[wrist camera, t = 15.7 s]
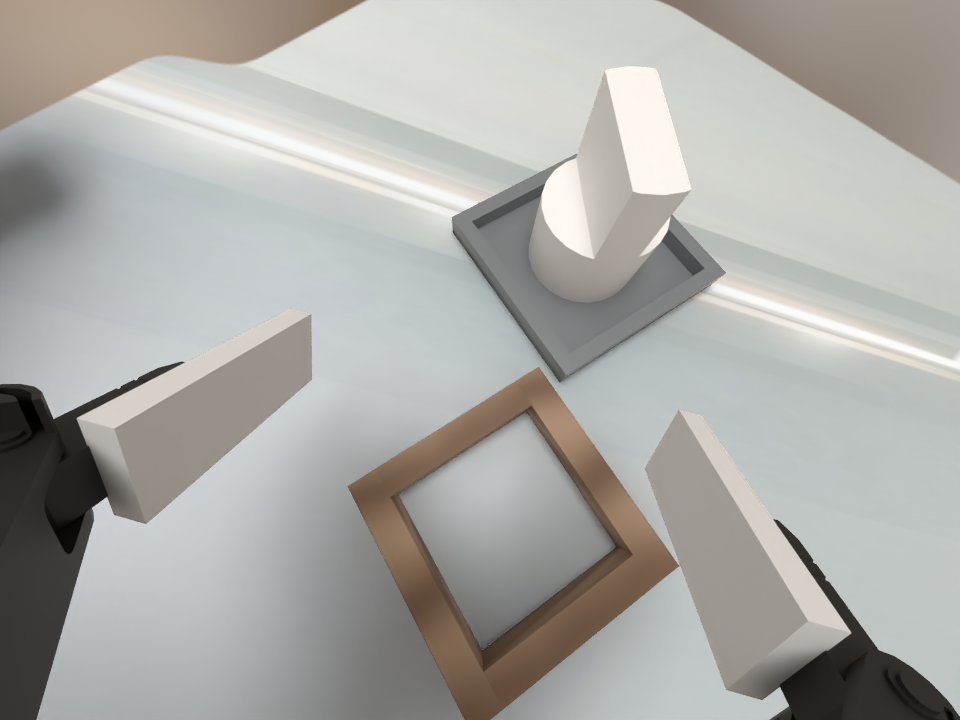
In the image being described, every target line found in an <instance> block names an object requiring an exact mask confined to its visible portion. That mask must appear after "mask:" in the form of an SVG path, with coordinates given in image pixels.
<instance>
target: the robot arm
mask: <svg viewBox="0 0 960 720" xmlns="http://www.w3.org/2000/svg"><path fill="white" fill-rule="evenodd" d="M311 380H312V346H311V314H310V313H306V312H302V311H298V310H294V309H289V310H287V311H285V312H283V313H281V314H279V315H277V316H275V317H273V318H271V319H269V320H267V321H265V322H263V323H261V324H259V325H257V326H255V327H254V328H252V329H250V330H248V331H246V332H244V333H242V334H240V335H238V336H236V337H234V338H232V339H230V340H228V341H226V342H224V343H222V344H220V345H218V346H216V347H214V348H213V349H211V350H209V351H207V352H205V353H203V354H201V355H199V356H197V357H195V358H193V359H191V360H189V361H187V362H179V363H175V364H171V365H168V366H164V367H160V368H157V369H155V370H153V371H151V372H149V373H147V374H145V375H143V376H141V377H139V378H138V379H137V380H133V381H131V382H129V383H127V384H125V385H123V386H121V388H120V389H114V390H112V391H110V392H108V393H106V394H104V395H102V396H100V397H98V398H96V399H94V400H92V401H90V402H88V403H86V404H84V405H82V406H80V407H78V408H76V409H74V410H72V411H69V412H67V413H65V414H63V415H61V416H59V417H57V418H55V419H53V417H52V415H51V412H50V410H49V408H48V405H47V403H46V401H45V398H44V396H43V394H42V392H41V391H40V390H38V389H37V388H36V387H33V386H28V385H22V384H0V720H36V719H37V716H38V712H39V709H40V705H41V702H42V698H43V695H44V691H45V688H46V684H47V681H48V677H49V674H50V671H51V667H52V664H53V660H54V657H55V653H56V650H57V646H58V643H59V639H60V636H61V632H62V629H63V625H64V622H65V619H66V615H67V612H68V608H69V605H70V601H71V598H72V594H73V591H74V587H75V584H76V580H77V577H78V573H79V570H80V567H81V563H82V560H83V556H84V553H85V549H86V546H87V542H88V539H89V535H90V532H91V528H92V525H93V521H94V515H93V510H92V507H94V506H95V505H96V504H98V503H99V502H100V501H102V500H103V499H104V498H106V497H107V498H108V500H109V503H110V505H111V508H112V511H113V513H114V515H116V516H120V517H123V518H127V519H130V520H134V521H137V522H141V523H144V524H147V523H148V522H149V521H150V520H151V519H152V518H154V517H155V516H156V515H157V514H158V513H159V512H160V511H162V510H163V509H164V508H165V507H166V506H167V505H168V504H170V503H171V502H172V501H173V500H174V499H175V498H176V497H178V496H179V495H180V494H181V493H182V492H183V491H184V490H186V489H187V488H188V487H189V486H190V485H191V484H193V483H194V482H195V481H196V480H197V479H198V478H199V477H201V476H202V475H203V474H204V473H205V472H206V471H207V470H209V469H210V468H211V467H212V466H213V465H214V464H215V463H217V462H218V461H219V460H220V459H221V458H222V457H223V456H225V455H226V454H227V453H228V452H229V451H230V450H232V449H233V448H234V447H235V446H236V445H237V444H238V443H240V442H241V441H242V440H243V439H244V438H245V437H246V436H248V435H249V434H250V433H251V432H252V431H253V430H254V429H256V428H257V427H258V426H259V425H260V424H261V423H262V422H264V421H265V420H266V419H267V418H268V417H269V416H270V415H272V414H273V413H274V412H275V411H276V410H277V409H279V408H280V407H281V406H282V405H283V404H284V403H285V402H287V401H288V400H289V399H290V398H291V397H292V396H293V395H295V394H296V393H297V392H298V391H299V390H300V389H301V388H303V387H304V386H305V385H306V384H307V383H308V382H309V381H311ZM645 470H646V473H647V476H648V478H649V481H650V484H651V487H652V489H653V492H654V495H655V498H656V500H657V503H658V506H659V508H660V511H661V514H662V517H663V519H664V522H665V525H666V527H667V530H668V533H669V536H670V538H671V541H672V544H673V546H674V549H675V552H676V555H677V557H678V560H679V563H680V565H681V568H682V571H683V574H684V576H685V579H686V582H687V584H688V587H689V590H690V593H691V595H692V598H693V601H694V603H695V606H696V609H697V612H698V614H699V617H700V620H701V622H702V625H703V628H704V631H705V633H706V636H707V639H708V641H709V644H710V647H711V650H712V652H713V655H714V658H715V660H716V663H717V666H718V669H719V671H720V674H721V677H722V679H723V682H724V685H725V688H726V690H729V691H732V692H736V693H739V694H743V695H746V696H750V697H753V698H757V699H760V700H763V699H764V698H766V697H767V696H768V695H770V694H771V693H772V692H774V691H775V690H776V689H778V688H779V687H781V690H782V692H783V694H784V696H785V698H786V700H787V702H788V704H789V707H787V708H786V709H785V710H783V711H782V712H780V713H779V714H777V715H776V716H774V717H773V718H772V719H770V720H960V717H959V715H958V714H957V712H956V711H955V710H954V708H953V707H952V705H951V704H950V703H949V701H948V700H947V699H946V698H945V697H944V696H943V695H942V694H941V693H940V692H939V691H938V690H937V689H936V688H935V687H934V686H933V685H932V684H931V683H930V682H929V681H928V680H927V679H925V678H924V677H923V676H922V675H921V674H919V673H918V672H917V671H916V670H915V669H913V668H912V667H911V666H909V665H907V664H906V663H904V662H903V661H901V660H899V659H898V658H896V657H895V656H892V655H890V654H887V653H884V652H882V651H879V650H878V649H877V647H876V646H875V645H874V643H873V642H872V640H871V639H870V638H869V636H868V635H867V633H866V632H865V631H864V629H863V628H862V627H861V625H860V624H859V622H858V621H857V620H856V618H855V617H854V616H853V614H852V613H851V611H850V610H849V609H848V607H847V606H846V604H845V603H844V602H843V600H842V599H841V598H840V596H839V595H838V593H837V592H836V591H835V589H834V588H833V587H832V585H831V584H830V582H828V581H826V580H825V578H826V577H825V575H824V574H823V573H822V571H821V570H820V569H819V567H818V566H817V564H814V563H813V559H812V558H811V556H810V555H809V553H808V552H807V551H806V549H805V548H804V546H803V545H802V544H801V542H800V541H799V540H798V539H797V538H796V537H795V536H794V535H793V534H792V533H791V532H790V531H789V530H788V529H787V528H786V527H785V526H784V525H783V524H782V523H781V522H779V521H778V520H775V519H772V517H771V516H770V514H769V513H768V511H767V510H766V509H765V507H764V506H763V504H762V503H761V501H760V500H759V498H758V497H757V496H756V494H755V493H754V491H753V490H752V488H751V487H750V485H749V484H748V483H747V481H746V480H745V478H744V477H743V475H742V474H741V472H740V471H739V470H738V468H737V467H736V465H735V464H734V462H733V461H732V459H731V458H730V457H729V455H728V454H727V452H726V451H725V449H724V448H723V446H722V445H721V444H720V442H719V441H718V439H717V438H716V436H715V435H714V433H713V432H712V431H711V429H710V428H709V426H708V425H707V423H706V422H705V420H704V419H703V417H702V416H701V415H697V414H693V413H689V412H686V411H682V410H678V412H677V414H676V416H675V417H674V419H673V421H672V422H671V424H670V426H669V428H668V429H667V431H666V433H665V435H664V436H663V438H662V440H661V441H660V443H659V445H658V447H657V448H656V450H655V452H654V453H653V455H652V457H651V459H650V460H649V462H648V464H647V466H646V467H645Z"/></svg>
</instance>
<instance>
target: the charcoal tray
mask: <svg viewBox="0 0 960 720" xmlns="http://www.w3.org/2000/svg"><path fill="white" fill-rule="evenodd" d="M576 156H577V154H575V155H573V156H571V157H569V158H567V159H565V160H563V161H562V162H560V163H558V164H556V165H554V166H552V167H550V168H548V169H546V170H544V171H542V172H540V173H538V174H536V175H534V176H532V177H530V178H528V179H526V180H524V181H522V182H520V183H518V184H516V185H514V186H512V187H510V188H508V189H506V190H505V191H503V192H501V193H499V194H497V195H495V196H493V197H491V198H489V199H487V200H485V201H483V202H481V203H479V204H477V205H475V206H473V207H471V208H469V209H467V210H465V211H463V212H461V213H459V214H457V215H455V216H453V217H452V224H453V233H454V234H455V236H456V237H457V239H458V240H459V241H460V243H461V244H462V246H463V247H464V248H465V250H466V251H467V253H468V254H469V255H470V257H471V258H472V260H473V261H474V262H475V264H476V265H477V267H478V268H479V269H480V271H481V272H482V274H483V275H484V276H485V278H486V279H487V281H488V282H489V283H490V285H491V286H492V288H493V289H494V290H495V292H496V293H497V295H498V296H499V297H500V299H501V300H502V302H503V303H504V304H505V306H506V307H507V309H508V310H509V311H510V313H511V314H512V316H513V317H514V318H515V320H516V321H517V323H518V324H519V325H520V327H521V328H522V330H523V331H524V332H525V334H526V335H527V337H528V338H529V339H530V341H531V342H532V344H533V345H534V346H535V348H536V349H537V351H538V352H539V353H540V355H541V356H542V358H543V359H544V360H545V362H546V363H547V365H548V366H549V367H550V369H551V370H552V372H553V373H554V374H555V376H556V377H557V379H558V380H559V381H562V380H563V379H565V378H567V377H568V376H570V375H571V374H573V373H574V372H576V371H577V370H579V369H581V368H582V367H584V366H585V365H587V364H588V363H590V362H591V361H593V360H595V359H596V358H598V357H599V356H601V355H602V354H604V353H606V352H607V351H609V350H610V349H612V348H613V347H615V346H616V345H618V344H620V343H621V342H623V341H624V340H626V339H627V338H629V337H630V336H632V335H634V334H635V333H637V332H638V331H640V330H641V329H643V328H644V327H646V326H648V325H649V324H651V323H652V322H654V321H655V320H657V319H658V318H660V317H662V316H663V315H665V314H666V313H668V312H669V311H671V310H672V309H674V308H676V307H677V306H679V305H680V304H682V303H683V302H685V301H686V300H688V299H690V298H691V297H693V296H694V295H696V294H697V293H699V292H700V291H702V290H704V289H705V288H707V287H708V286H710V285H711V284H712V283H714V282H715V281H716V280H718V279H719V278H720V277H721V276H723V275H724V274H725V273H726V272H725V271H724V270H723V269H722V268H721V267H720V266H719V265H718V264H717V263H716V262H715V260H714V259H713V258H712V257H711V256H710V255H709V254H708V253H707V252H706V251H705V250H704V249H703V248H702V246H701V245H700V244H699V243H698V242H697V241H696V240H695V239H694V238H693V237H692V236H691V235H690V234H689V232H688V231H687V230H686V229H685V228H684V227H683V226H682V225H681V224H680V223H679V222H678V221H677V220H676V218H675V217H674V216H673V215H671V217H670V222H669V227H668V231H667V233H666V234H665V236H664V237H663V239H662V241H661V242H660V244H659V245H658V246H657V247H656V249H655V250H654V251H653V252H652V253H651V255H650V256H649V257H648V258H647V259H646V261H645V262H644V263H643V264H642V266H641V267H640V268H639V269H638V270H637V272H636V273H635V274H634V275H633V276H632V278H631V279H630V280H629V281H628V283H627V284H626V285H625V286H624V287H623V288H622V289H621V290H620V291H618V292H617V293H616V294H615V295H613V296H611V297H609V298H607V299H605V300H602V301H597V302H591V303H584V302H573V301H570V300H567V299H564V298H561V297H559V296H557V295H556V294H554V293H552V292H551V291H549V290H548V289H547V288H546V287H545V286H543V285H542V284H541V283H540V282H539V281H538V279H537V277H536V276H535V274H534V272H533V271H532V269H531V265H530V261H529V258H528V253H529V242H530V238H531V234H532V231H533V227H534V223H535V219H536V215H537V211H538V207H539V203H540V199H541V195H542V192H543V189H544V186H545V183H546V181H547V180H548V178H549V177H550V176H551V174H552V173H553V172H554V170H556V169H557V168H558V167H560V166H561V165H563V164H564V163H565V162H567V161H570V160H572V159H575V158H576Z"/></svg>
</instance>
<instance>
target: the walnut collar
mask: <svg viewBox="0 0 960 720" xmlns="http://www.w3.org/2000/svg"><path fill="white" fill-rule="evenodd" d="M526 411H527V413H528V414H529V416H530V417H531V419H532V420H533V422H534V423H535V425H536V426H537V428H538V429H539V431H540V432H541V434H542V435H543V437H544V438H545V440H546V441H547V442H548V444H549V445H550V447H551V448H552V450H553V451H554V453H555V454H556V456H557V457H558V459H559V460H560V462H561V463H562V465H563V466H564V468H565V469H566V471H567V472H568V474H569V475H570V477H571V478H572V480H573V481H574V483H575V484H576V486H577V487H578V489H579V490H580V492H581V493H582V495H583V496H584V498H585V499H586V501H587V502H588V504H589V505H590V507H591V508H592V509H593V511H594V512H595V514H596V515H597V517H598V518H599V520H600V521H601V523H602V524H603V526H604V527H605V529H606V530H607V532H608V533H609V535H610V536H611V538H612V539H613V541H614V542H615V544H616V545H617V548H616V549H614V550H613V551H612V552H610V553H609V554H608V555H606V556H605V557H604V558H603V559H601V560H600V561H599V562H597V563H596V564H595V565H593V566H592V567H591V568H590V569H588V570H587V571H586V572H584V573H583V574H582V575H580V576H579V577H578V578H577V579H575V580H574V581H573V582H571V583H570V584H569V585H567V586H566V587H565V588H564V589H562V590H561V591H560V592H558V593H557V594H556V595H555V596H553V597H552V598H551V599H549V600H548V601H547V602H545V603H544V604H543V605H542V606H540V607H539V608H538V609H536V610H535V611H534V612H532V613H531V614H530V615H529V616H527V617H526V618H525V619H523V620H522V621H521V622H519V623H518V624H517V625H516V626H514V627H513V628H512V629H510V630H509V631H508V632H506V633H505V634H504V635H503V636H501V637H500V638H499V639H497V640H496V641H495V642H494V643H492V644H491V645H490V646H488V647H487V648H486V649H484V650H483V651H482V650H481V648H480V646H479V645H478V643H477V641H476V639H475V637H474V635H473V633H472V632H471V630H470V628H469V626H468V624H467V622H466V620H465V619H464V617H463V615H462V613H461V611H460V609H459V607H458V605H457V604H456V602H455V600H454V598H453V596H452V594H451V592H450V591H449V589H448V587H447V585H446V583H445V581H444V579H443V577H442V576H441V574H440V572H439V570H438V568H437V566H436V564H435V563H434V561H433V559H432V557H431V555H430V553H429V551H428V549H427V548H426V546H425V544H424V542H423V540H422V538H421V536H420V535H419V533H418V531H417V529H416V527H415V525H414V523H413V522H412V520H411V518H410V516H409V514H408V512H407V510H406V508H405V507H404V505H403V503H402V501H401V499H400V497H399V495H398V494H399V493H401V492H402V491H404V490H406V489H407V488H409V487H410V486H412V485H413V484H415V483H416V482H418V481H419V480H421V479H423V478H424V477H426V476H427V475H429V474H430V473H432V472H433V471H435V470H436V469H438V468H440V467H441V466H443V465H444V464H446V463H447V462H449V461H450V460H452V459H453V458H455V457H457V456H458V455H460V454H461V453H463V452H464V451H466V450H467V449H469V448H470V447H472V446H474V445H475V444H477V443H478V442H480V441H481V440H483V439H484V438H486V437H487V436H489V435H491V434H492V433H494V432H495V431H497V430H498V429H500V428H501V427H503V426H504V425H506V424H508V423H509V422H511V421H512V420H514V419H515V418H517V417H518V416H520V415H521V414H523V413H525V412H526ZM348 488H349V490H350V492H351V494H352V496H353V498H354V500H355V502H356V504H357V506H358V508H359V510H360V512H361V514H362V516H363V518H364V520H365V522H366V524H367V526H368V528H369V530H370V532H371V534H372V536H373V538H374V540H375V542H376V544H377V546H378V548H379V550H380V552H381V554H382V556H383V558H384V560H385V562H386V564H387V566H388V568H389V570H390V572H391V574H392V576H393V578H394V580H395V582H396V584H397V586H398V588H399V590H400V592H401V594H402V596H403V598H404V600H405V602H406V604H407V606H408V608H409V610H410V612H411V614H412V616H413V618H414V620H415V622H416V624H417V626H418V628H419V630H420V632H421V634H422V636H423V638H424V640H425V642H426V644H427V646H428V648H429V650H430V652H431V653H432V655H433V657H434V659H435V661H436V663H437V665H438V667H439V669H440V671H441V673H442V675H443V677H444V679H445V681H446V683H447V685H448V687H449V689H450V691H451V693H452V695H453V697H454V699H455V701H456V703H457V705H458V707H459V709H460V711H461V713H462V715H463V717H464V719H465V720H490V719H492V718H493V717H494V716H495V715H497V714H498V713H499V712H500V711H501V710H503V709H504V708H505V707H506V706H508V705H509V704H510V703H511V702H512V701H514V700H515V699H516V698H517V697H519V696H520V695H521V694H522V693H524V692H525V691H526V690H527V689H528V688H530V687H531V686H532V685H533V684H535V683H536V682H537V681H538V680H539V679H541V678H542V677H543V676H544V675H546V674H547V673H548V672H549V671H551V670H552V669H553V668H554V667H555V666H557V665H558V664H559V663H560V662H562V661H563V660H564V659H565V658H567V657H568V656H569V655H570V654H571V653H573V652H574V651H575V650H576V649H578V648H579V647H580V646H581V645H582V644H584V643H585V642H586V641H587V640H589V639H590V638H591V637H592V636H594V635H595V634H596V633H597V632H598V631H600V630H601V629H602V628H603V627H605V626H606V625H607V624H608V623H609V622H611V621H612V620H613V619H614V618H616V617H617V616H618V615H619V614H621V613H622V612H623V611H624V610H625V609H627V608H628V607H629V606H630V605H632V604H633V603H634V602H635V601H637V600H638V599H639V598H640V597H641V596H643V595H644V594H645V593H646V592H648V591H649V590H650V589H651V588H652V587H654V586H655V585H656V584H657V583H659V582H660V581H661V580H662V579H664V578H665V577H666V576H667V575H668V574H670V573H671V572H672V571H673V570H675V569H676V568H677V567H678V566H679V565H678V564H677V562H676V561H675V559H674V558H673V557H672V555H671V554H670V552H669V551H668V550H667V548H666V547H665V545H664V544H663V542H662V541H661V540H660V538H659V537H658V535H657V534H656V533H655V531H654V530H653V528H652V527H651V525H650V524H649V523H648V521H647V520H646V518H645V517H644V516H643V514H642V513H641V511H640V510H639V508H638V507H637V506H636V504H635V503H634V501H633V500H632V499H631V497H630V496H629V494H628V493H627V491H626V490H625V489H624V487H623V486H622V484H621V483H620V481H619V480H618V479H617V477H616V476H615V474H614V473H613V472H612V470H611V469H610V467H609V466H608V464H607V463H606V462H605V460H604V459H603V457H602V456H601V455H600V453H599V452H598V450H597V449H596V447H595V446H594V445H593V443H592V442H591V440H590V439H589V438H588V436H587V435H586V433H585V432H584V430H583V429H582V428H581V426H580V425H579V423H578V422H577V421H576V419H575V418H574V416H573V415H572V413H571V412H570V411H569V409H568V408H567V406H566V405H565V404H564V402H563V401H562V399H561V398H560V396H559V395H558V394H557V392H556V391H555V389H554V388H553V387H552V385H551V384H550V382H549V381H548V379H547V378H546V377H545V375H544V374H543V372H542V371H541V370H540V368H539V367H538V368H536V369H535V370H533V371H532V372H530V373H528V374H527V375H525V376H524V377H522V378H520V379H519V380H517V381H516V382H514V383H512V384H511V385H509V386H508V387H506V388H504V389H503V390H501V391H500V392H498V393H496V394H495V395H493V396H492V397H490V398H488V399H487V400H485V401H484V402H482V403H480V404H479V405H477V406H476V407H474V408H472V409H471V410H469V411H468V412H466V413H464V414H463V415H461V416H460V417H458V418H456V419H455V420H453V421H452V422H450V423H448V424H447V425H445V426H444V427H442V428H440V429H439V430H437V431H436V432H434V433H433V434H431V435H429V436H428V437H426V438H425V439H423V440H421V441H420V442H418V443H417V444H415V445H413V446H412V447H410V448H409V449H407V450H405V451H404V452H402V453H401V454H399V455H397V456H396V457H394V458H393V459H391V460H389V461H388V462H386V463H385V464H383V465H381V466H380V467H378V468H377V469H375V470H373V471H372V472H370V473H369V474H367V475H365V476H364V477H362V478H361V479H359V480H357V481H356V482H354V483H353V484H351V485H349V486H348Z"/></svg>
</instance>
